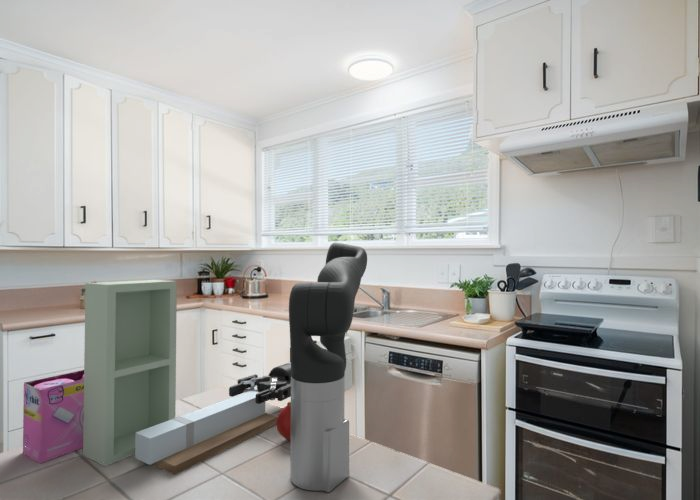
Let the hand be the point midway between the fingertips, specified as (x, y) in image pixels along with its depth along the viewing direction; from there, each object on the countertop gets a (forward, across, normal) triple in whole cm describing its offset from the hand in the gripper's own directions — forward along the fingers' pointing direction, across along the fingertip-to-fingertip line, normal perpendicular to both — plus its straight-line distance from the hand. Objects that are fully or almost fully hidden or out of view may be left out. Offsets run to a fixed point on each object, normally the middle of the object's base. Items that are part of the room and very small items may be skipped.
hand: (243, 395), depth 91 cm
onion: (0, +14, +7) cm, 16 cm away
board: (+8, 0, +6) cm, 10 cm away
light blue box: (+9, 0, +5) cm, 11 cm away
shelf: (+19, -11, +6) cm, 23 cm away
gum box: (+21, -22, +7) cm, 31 cm away
